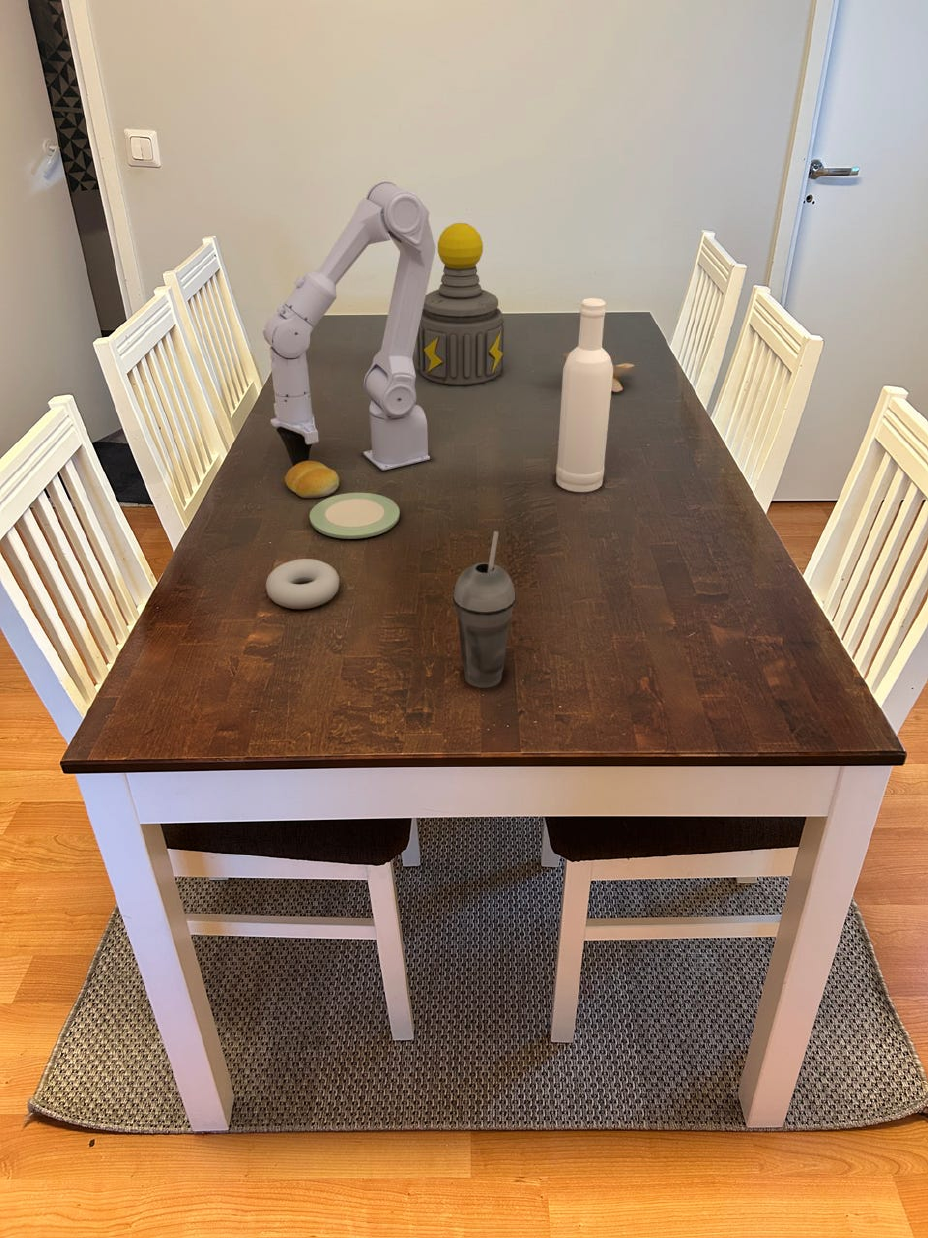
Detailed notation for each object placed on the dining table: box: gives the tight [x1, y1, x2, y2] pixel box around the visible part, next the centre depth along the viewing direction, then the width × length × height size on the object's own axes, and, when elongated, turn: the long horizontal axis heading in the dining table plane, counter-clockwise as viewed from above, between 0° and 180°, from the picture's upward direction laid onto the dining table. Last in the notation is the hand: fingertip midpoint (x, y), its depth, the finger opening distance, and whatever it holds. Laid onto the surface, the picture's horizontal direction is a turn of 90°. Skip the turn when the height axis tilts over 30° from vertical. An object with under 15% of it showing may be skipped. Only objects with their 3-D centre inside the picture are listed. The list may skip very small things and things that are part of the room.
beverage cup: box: [452, 530, 517, 689], centre depth 107 cm, size 7×7×20 cm
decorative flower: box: [560, 352, 636, 393], centre depth 190 cm, size 15×11×10 cm
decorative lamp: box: [416, 222, 505, 387], centre depth 191 cm, size 19×19×30 cm
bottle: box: [555, 297, 613, 493], centre depth 148 cm, size 8×8×30 cm
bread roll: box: [284, 460, 340, 499], centre depth 153 cm, size 8×9×4 cm
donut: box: [265, 558, 341, 610], centre depth 127 cm, size 10×4×10 cm
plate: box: [309, 492, 401, 540], centre depth 145 cm, size 14×14×1 cm
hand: (300, 467), depth 157 cm, fingers closed
